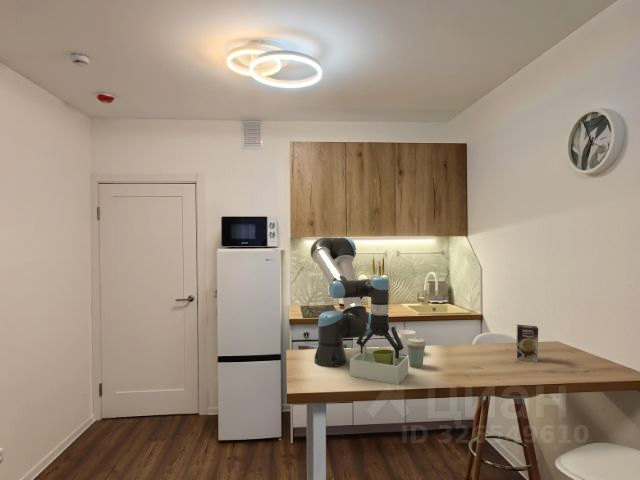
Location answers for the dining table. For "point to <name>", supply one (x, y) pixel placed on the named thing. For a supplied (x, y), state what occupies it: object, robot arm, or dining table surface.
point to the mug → (405, 339)
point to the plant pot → (383, 356)
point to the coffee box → (527, 343)
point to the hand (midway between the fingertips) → (379, 363)
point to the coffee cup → (416, 352)
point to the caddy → (378, 369)
